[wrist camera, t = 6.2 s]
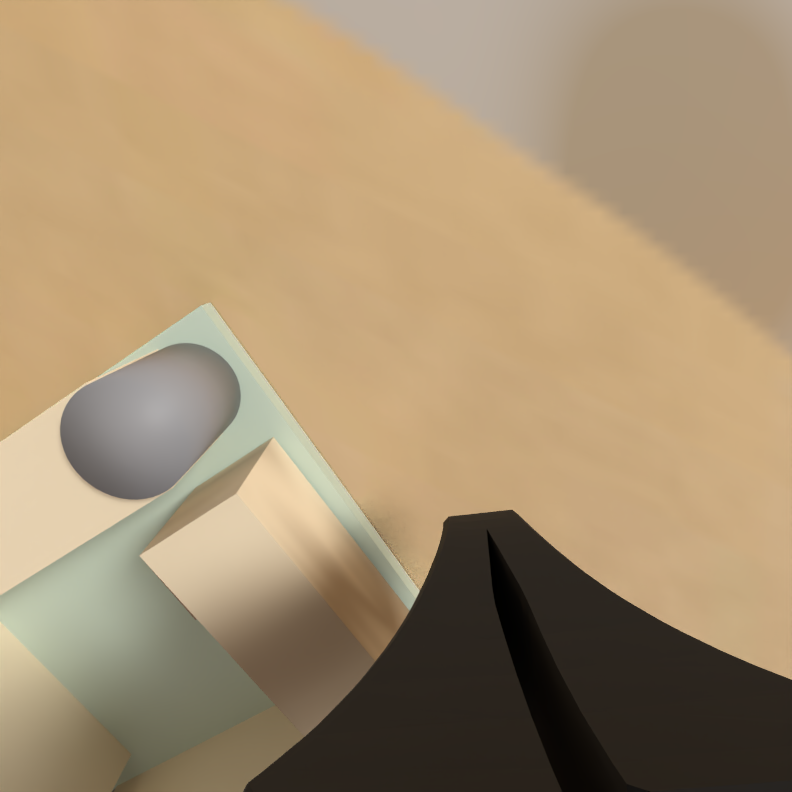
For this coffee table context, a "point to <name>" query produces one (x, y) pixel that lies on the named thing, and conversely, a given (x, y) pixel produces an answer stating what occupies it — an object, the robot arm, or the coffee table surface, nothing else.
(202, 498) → the beige long rectangular block
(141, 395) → the hinged beam frame
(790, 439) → the coffee table surface
